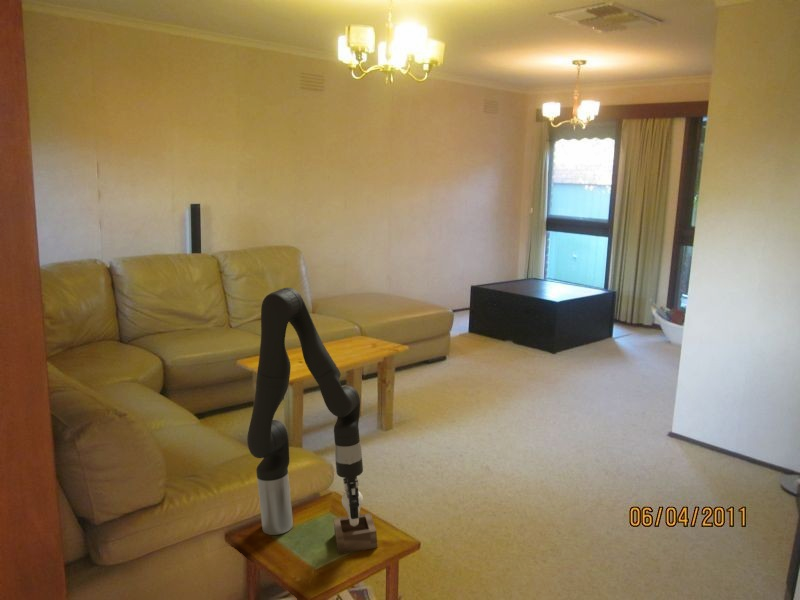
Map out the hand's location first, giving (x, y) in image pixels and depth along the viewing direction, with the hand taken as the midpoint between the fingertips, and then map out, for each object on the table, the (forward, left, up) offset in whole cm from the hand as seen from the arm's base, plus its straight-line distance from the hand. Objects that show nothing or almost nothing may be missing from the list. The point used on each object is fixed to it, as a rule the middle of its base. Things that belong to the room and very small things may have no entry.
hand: (353, 512), depth 186 cm
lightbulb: (0, 0, -4) cm, 4 cm away
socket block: (0, 0, -9) cm, 9 cm away
